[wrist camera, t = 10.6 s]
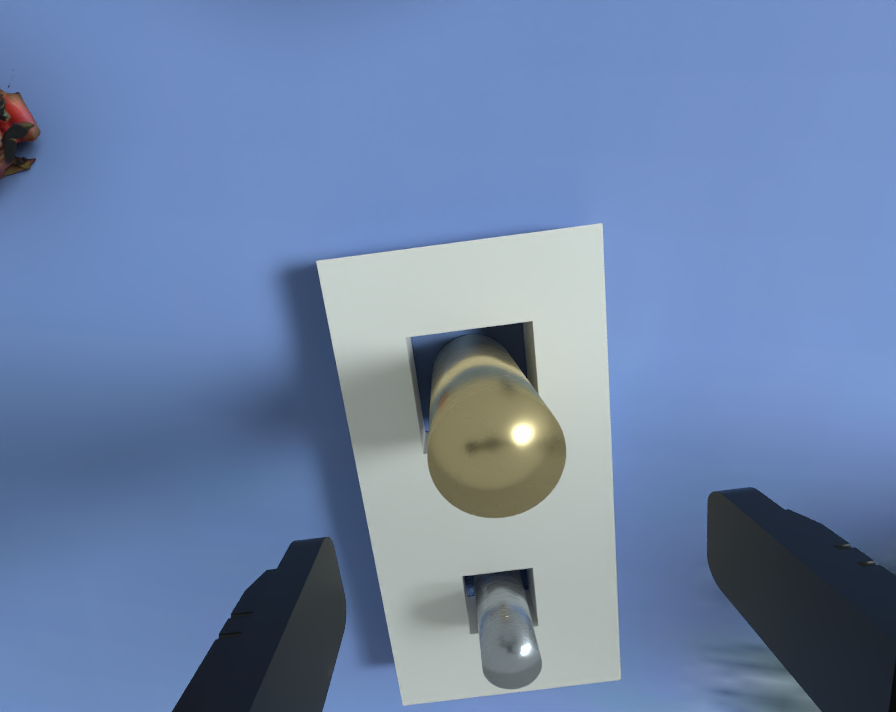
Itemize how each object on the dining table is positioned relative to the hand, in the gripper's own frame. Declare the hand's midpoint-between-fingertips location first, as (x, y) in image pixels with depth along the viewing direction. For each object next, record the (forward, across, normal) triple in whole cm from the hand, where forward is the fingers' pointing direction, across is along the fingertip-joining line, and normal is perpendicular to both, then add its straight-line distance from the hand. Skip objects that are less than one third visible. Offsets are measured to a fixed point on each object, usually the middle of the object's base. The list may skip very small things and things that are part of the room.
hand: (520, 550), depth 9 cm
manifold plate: (+13, 0, +5) cm, 14 cm away
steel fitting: (+13, 0, +11) cm, 17 cm away
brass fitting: (+13, 0, 0) cm, 13 cm away
